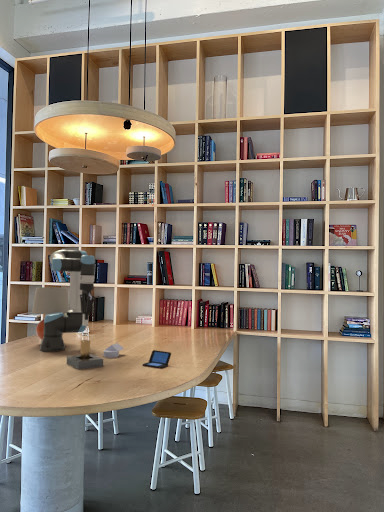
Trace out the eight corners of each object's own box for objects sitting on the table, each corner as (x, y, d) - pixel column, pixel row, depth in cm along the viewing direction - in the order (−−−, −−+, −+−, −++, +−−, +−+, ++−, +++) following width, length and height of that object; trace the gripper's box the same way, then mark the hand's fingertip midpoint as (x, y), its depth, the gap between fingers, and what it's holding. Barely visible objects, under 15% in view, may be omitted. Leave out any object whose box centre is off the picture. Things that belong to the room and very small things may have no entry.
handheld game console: (141, 366, 227) (141, 352, 228) (152, 363, 237) (152, 349, 237) (161, 369, 222) (161, 355, 222) (171, 365, 231) (171, 352, 231)
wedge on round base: (110, 353, 261) (100, 356, 249) (111, 342, 262) (101, 345, 249) (124, 354, 259) (114, 358, 246) (124, 343, 259) (114, 346, 247)
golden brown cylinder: (78, 362, 227) (79, 340, 227) (86, 361, 230) (87, 339, 231) (82, 364, 223) (83, 341, 224) (91, 363, 226) (91, 340, 227)
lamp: (73, 341, 300) (75, 287, 301) (59, 347, 275) (61, 288, 277) (40, 340, 302) (43, 286, 304) (23, 346, 277) (26, 287, 279)
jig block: (66, 363, 228) (66, 356, 228) (90, 361, 237) (90, 353, 237) (78, 369, 215) (78, 361, 216) (103, 366, 224) (103, 358, 224)
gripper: (75, 282, 236) (74, 324, 235) (85, 283, 225) (83, 327, 225) (88, 282, 240) (86, 323, 240) (98, 283, 230) (96, 326, 229)
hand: (85, 325), depth 232 cm, fingers closed
